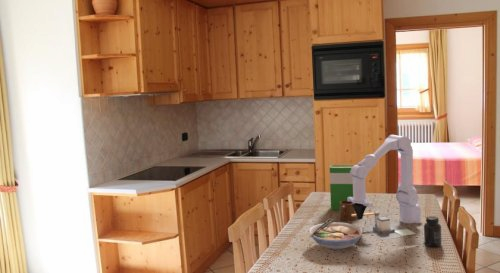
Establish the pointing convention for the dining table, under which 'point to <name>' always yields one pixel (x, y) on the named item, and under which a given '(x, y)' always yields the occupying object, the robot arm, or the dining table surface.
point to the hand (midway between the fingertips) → (359, 219)
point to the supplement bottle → (432, 232)
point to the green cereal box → (340, 184)
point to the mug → (346, 211)
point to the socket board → (388, 231)
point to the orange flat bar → (367, 214)
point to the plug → (383, 223)
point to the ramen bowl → (335, 234)
